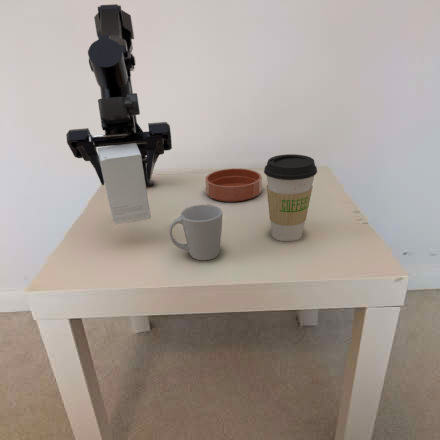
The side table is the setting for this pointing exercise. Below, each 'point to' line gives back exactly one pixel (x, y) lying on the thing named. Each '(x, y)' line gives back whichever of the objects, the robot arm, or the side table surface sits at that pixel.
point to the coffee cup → (289, 194)
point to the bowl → (233, 184)
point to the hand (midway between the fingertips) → (125, 182)
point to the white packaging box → (124, 183)
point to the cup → (200, 231)
